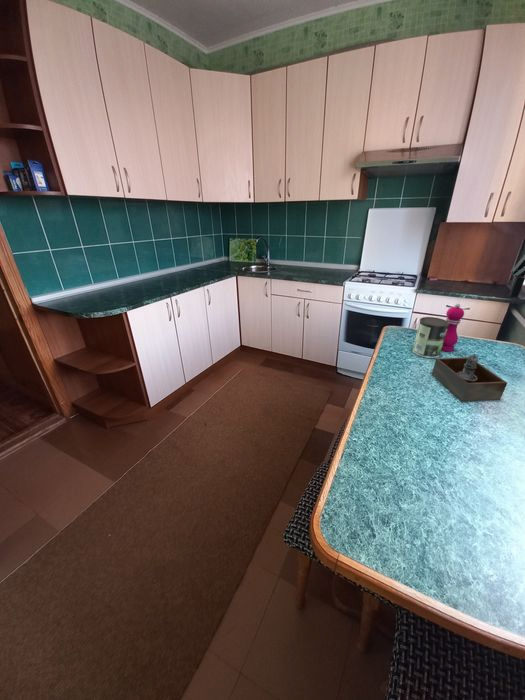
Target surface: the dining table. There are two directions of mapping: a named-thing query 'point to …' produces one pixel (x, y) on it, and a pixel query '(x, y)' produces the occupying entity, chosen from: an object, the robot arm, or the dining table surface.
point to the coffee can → (430, 337)
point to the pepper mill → (452, 327)
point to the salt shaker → (469, 369)
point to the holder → (480, 390)
